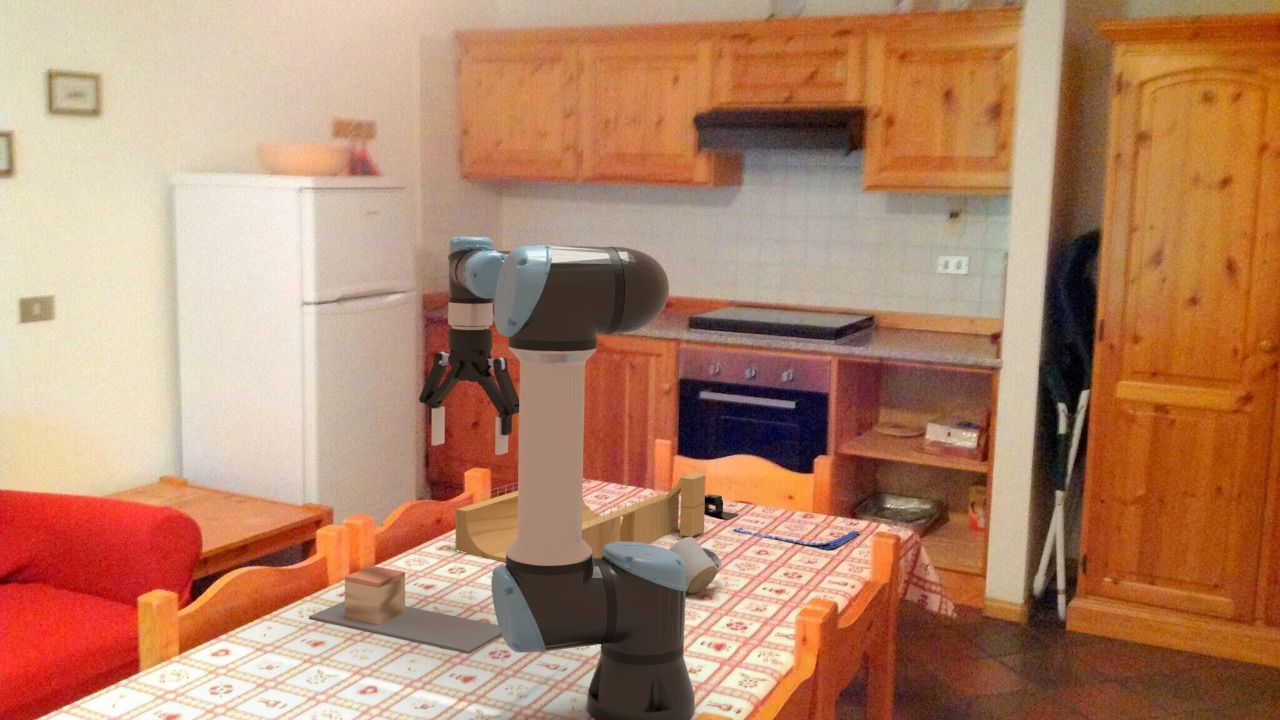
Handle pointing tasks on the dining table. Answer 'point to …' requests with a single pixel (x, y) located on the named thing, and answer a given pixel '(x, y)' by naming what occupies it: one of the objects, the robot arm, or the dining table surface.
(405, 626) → the slate mat
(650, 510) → the skate ramp
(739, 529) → the dish towel
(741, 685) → the dining table surface
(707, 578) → the ceramic mug
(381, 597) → the wooden cube
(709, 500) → the black boxy piece
